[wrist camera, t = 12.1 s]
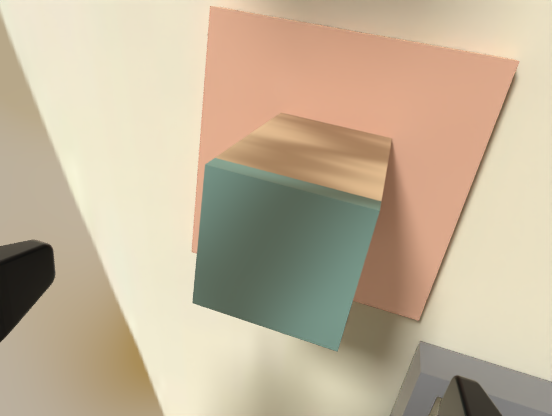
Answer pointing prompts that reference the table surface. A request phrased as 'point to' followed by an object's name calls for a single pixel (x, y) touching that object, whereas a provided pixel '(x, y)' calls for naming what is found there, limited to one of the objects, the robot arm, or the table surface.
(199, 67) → the table surface
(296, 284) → the oak block
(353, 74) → the tile
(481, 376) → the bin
